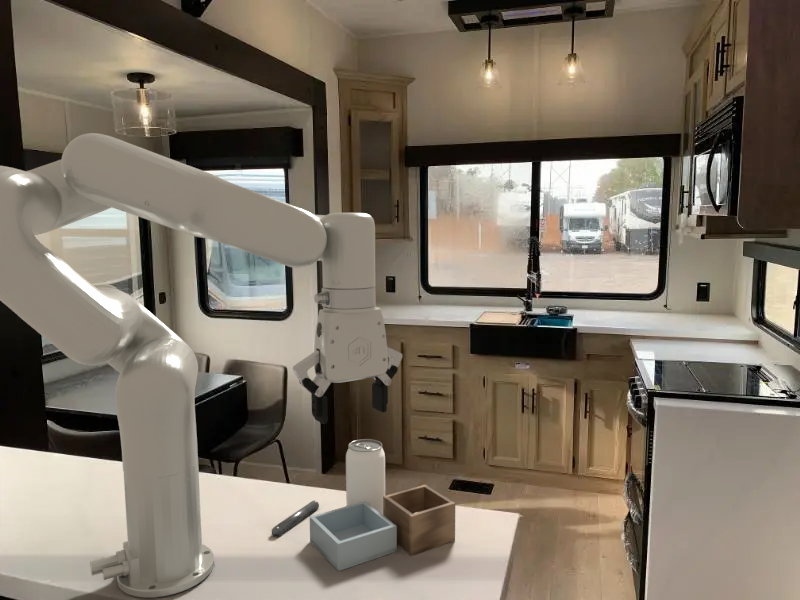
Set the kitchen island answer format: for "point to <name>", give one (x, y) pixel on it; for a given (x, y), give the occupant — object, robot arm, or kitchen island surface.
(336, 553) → the light blue tray
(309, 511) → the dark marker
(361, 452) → the can
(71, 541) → the kitchen island surface
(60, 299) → the robot arm
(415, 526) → the walnut box
